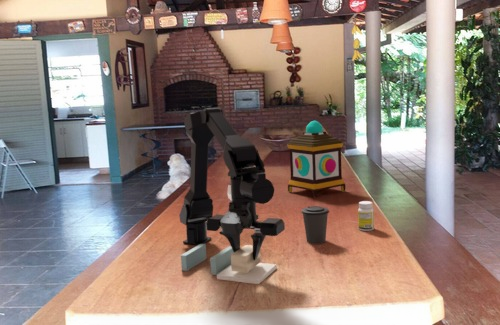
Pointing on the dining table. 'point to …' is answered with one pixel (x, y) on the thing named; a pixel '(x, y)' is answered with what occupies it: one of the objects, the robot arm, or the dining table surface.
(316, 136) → the decorative lantern
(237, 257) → the maple block
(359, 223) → the supplement bottle
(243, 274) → the ceramic tile
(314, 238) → the coffee cup
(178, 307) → the dining table surface
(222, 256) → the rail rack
